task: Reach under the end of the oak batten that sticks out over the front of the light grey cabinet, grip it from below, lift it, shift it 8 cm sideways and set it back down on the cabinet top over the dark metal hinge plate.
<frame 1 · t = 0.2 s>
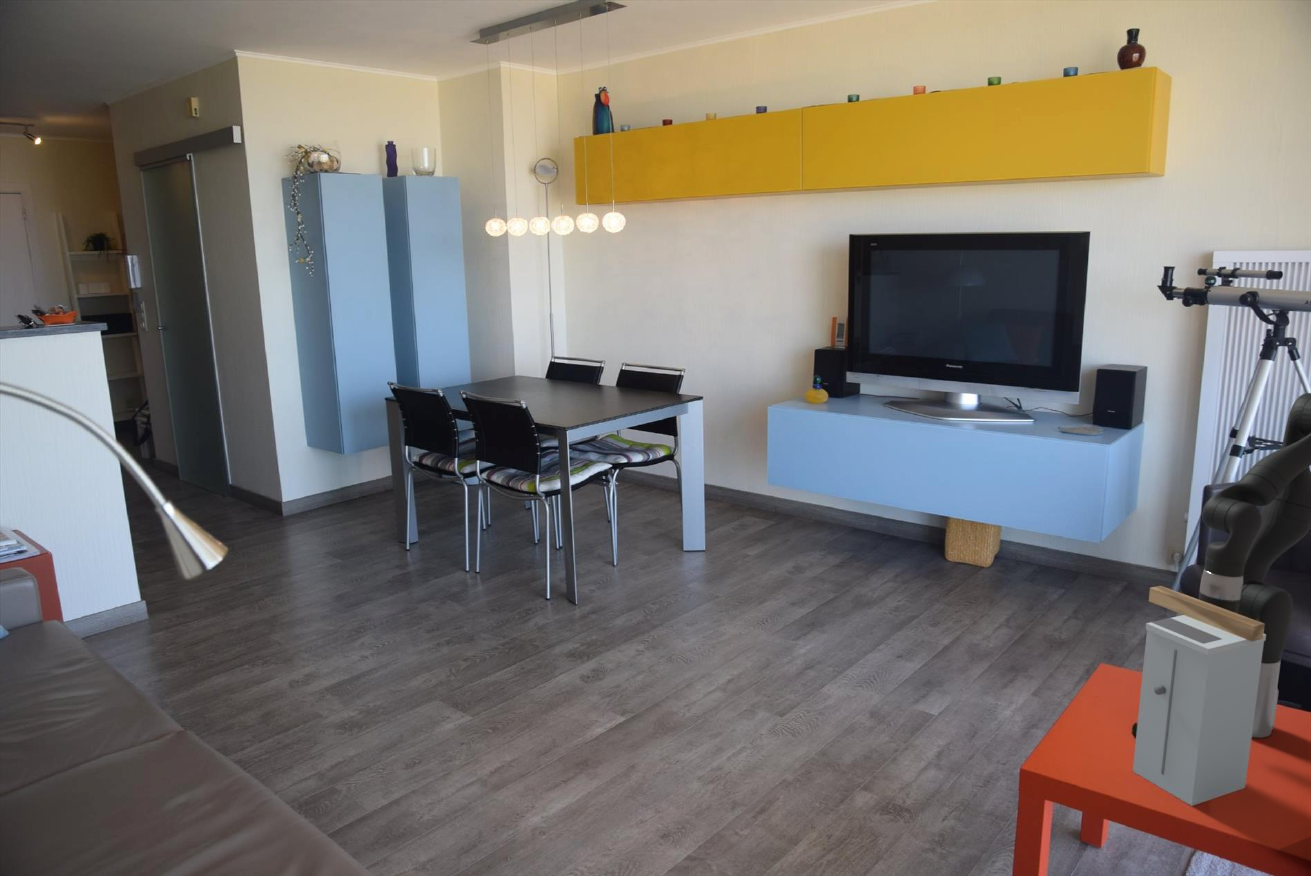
hand: (1210, 665, 193), 17 cm above the table, tool pointing down, fingers open, 8 cm apart
oak batten: (1202, 619, 180), point 32 cm above the table, touching light grey cabinet
light grey cabinet: (1187, 779, 182), on the table
hand tool: (1154, 725, 203), on the table
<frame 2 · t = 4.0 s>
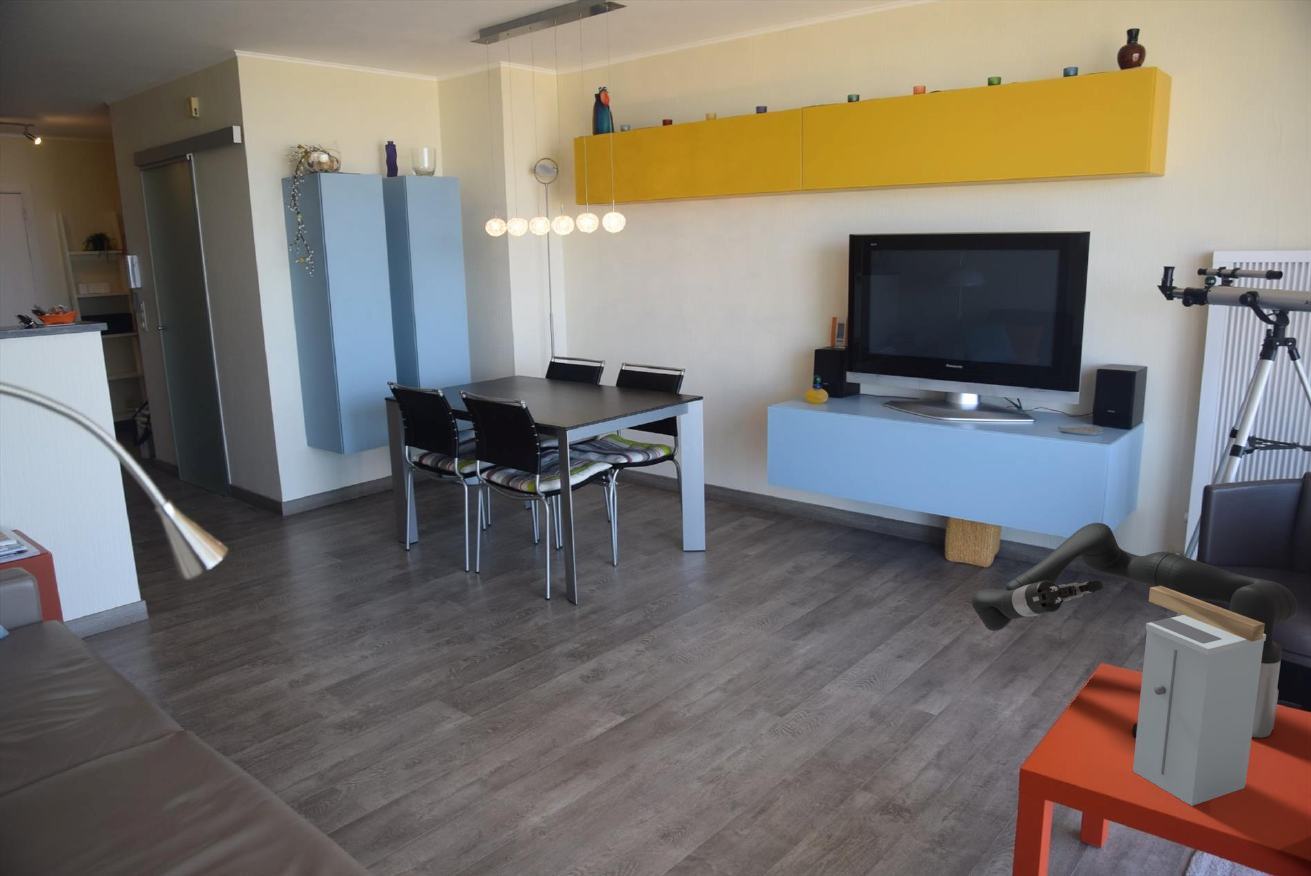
hand: (1087, 587, 206), 29 cm above the table, tool pointing upward, fingers open, 8 cm apart
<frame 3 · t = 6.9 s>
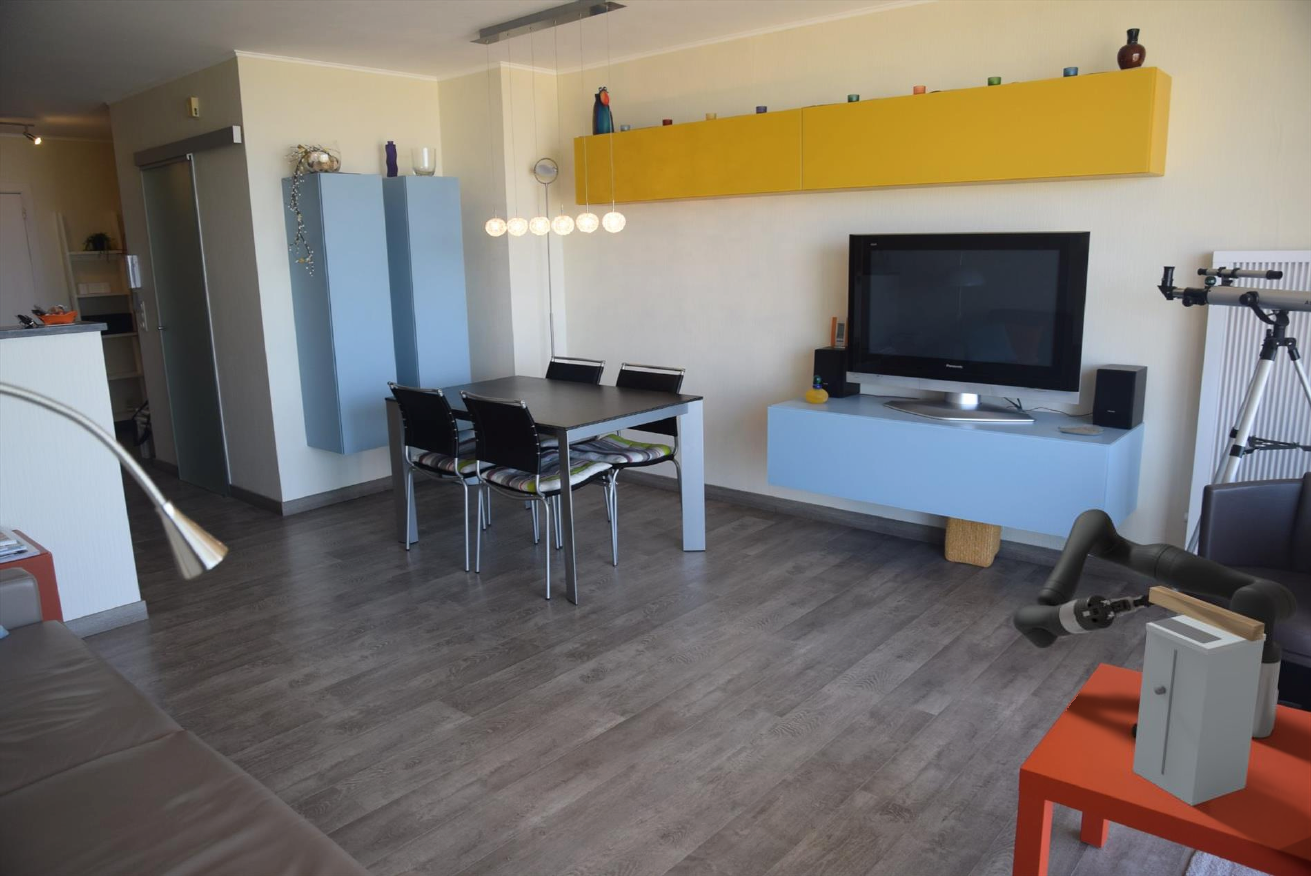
hand: (1142, 601, 192), 31 cm above the table, tool pointing upward, fingers open, 8 cm apart
nothing on the table moved.
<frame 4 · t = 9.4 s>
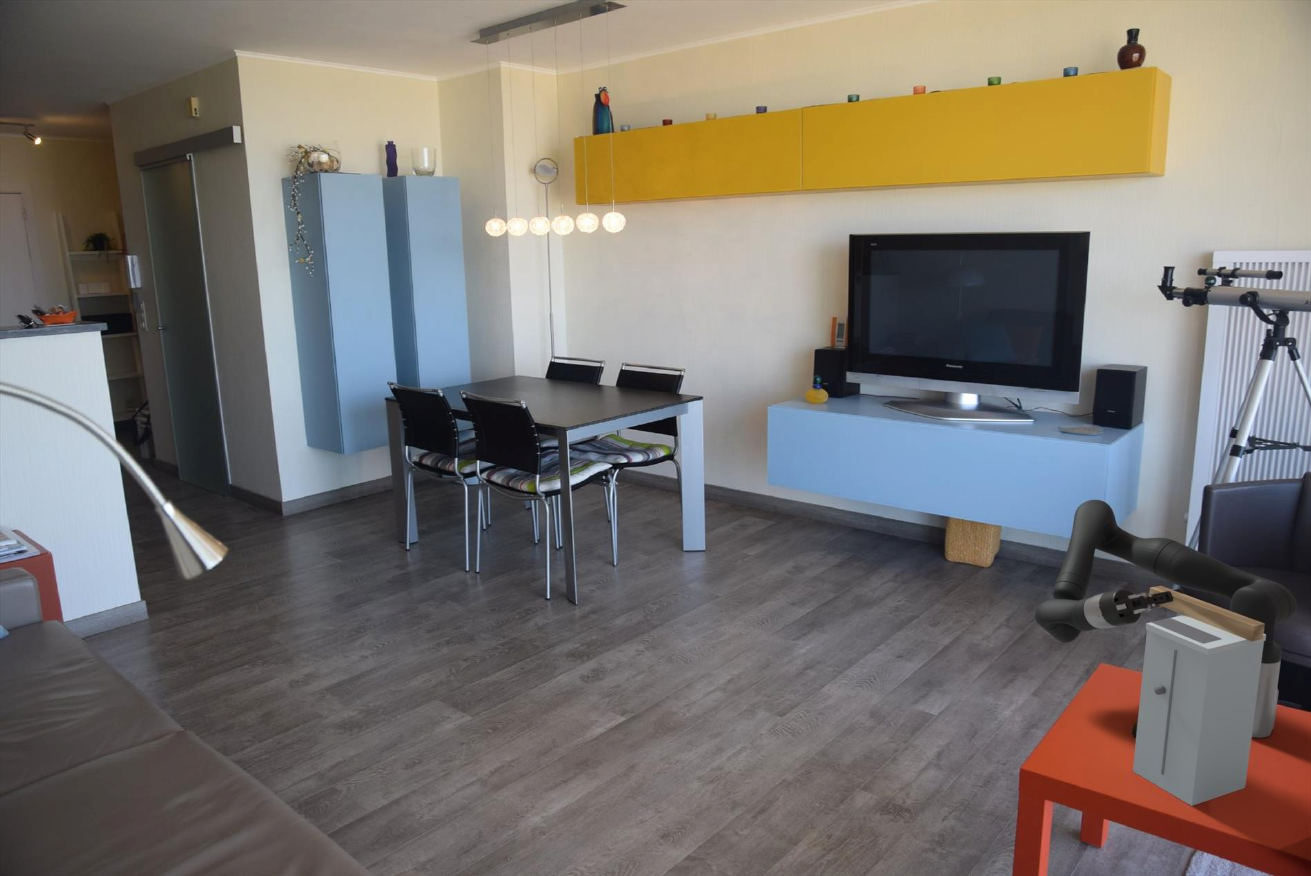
hand: (1176, 594, 185), 35 cm above the table, tool pointing upward, fingers closed on oak batten, 3 cm apart
oak batten: (1202, 619, 180), point 32 cm above the table, touching gripper, light grey cabinet
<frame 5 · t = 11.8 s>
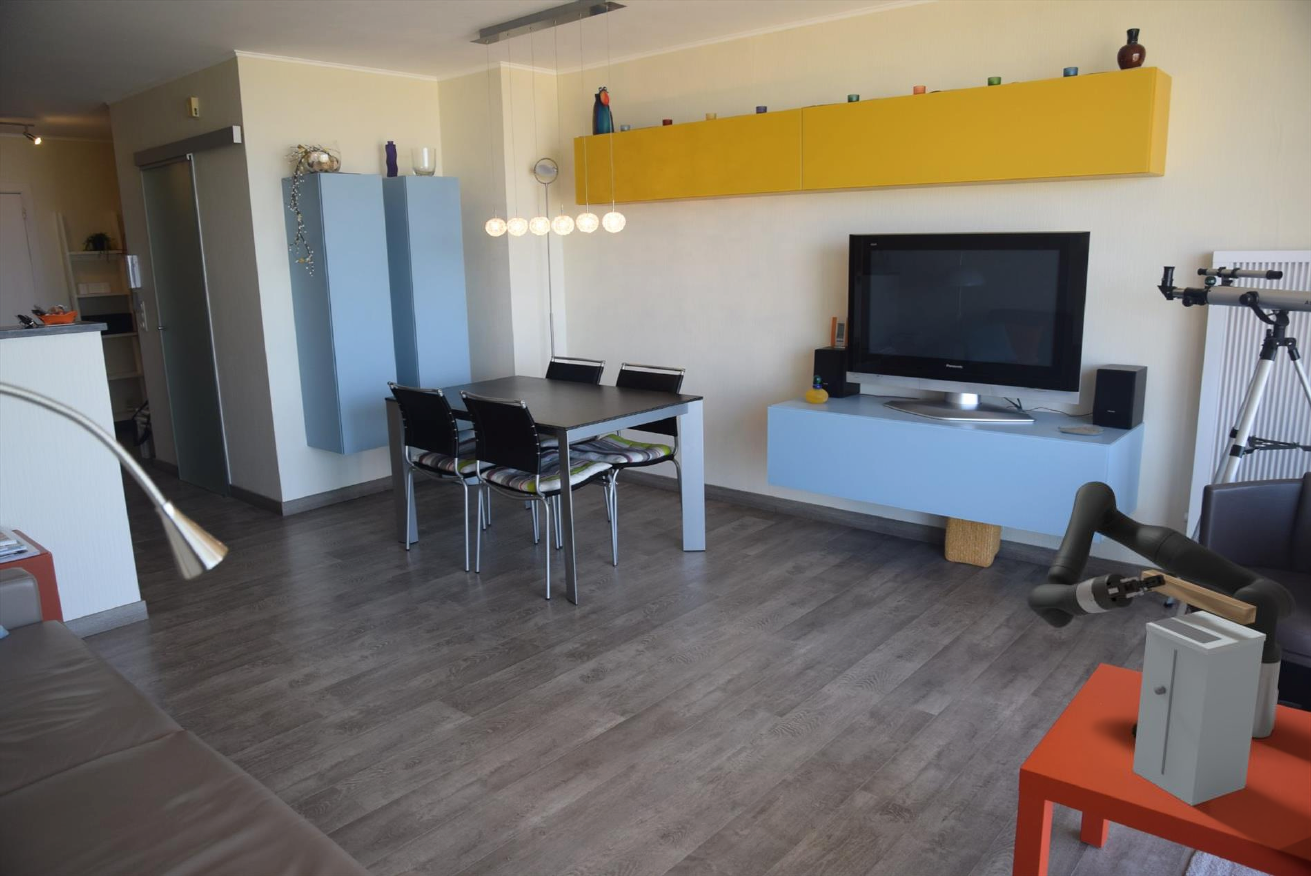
hand: (1168, 578, 184), 39 cm above the table, tool pointing upward, fingers closed on oak batten, 3 cm apart
oak batten: (1194, 602, 179), point 36 cm above the table, touching gripper
when the fingers open (36 cm above the table, at t = 14.3 s): oak batten stays where it is, resting on light grey cabinet.
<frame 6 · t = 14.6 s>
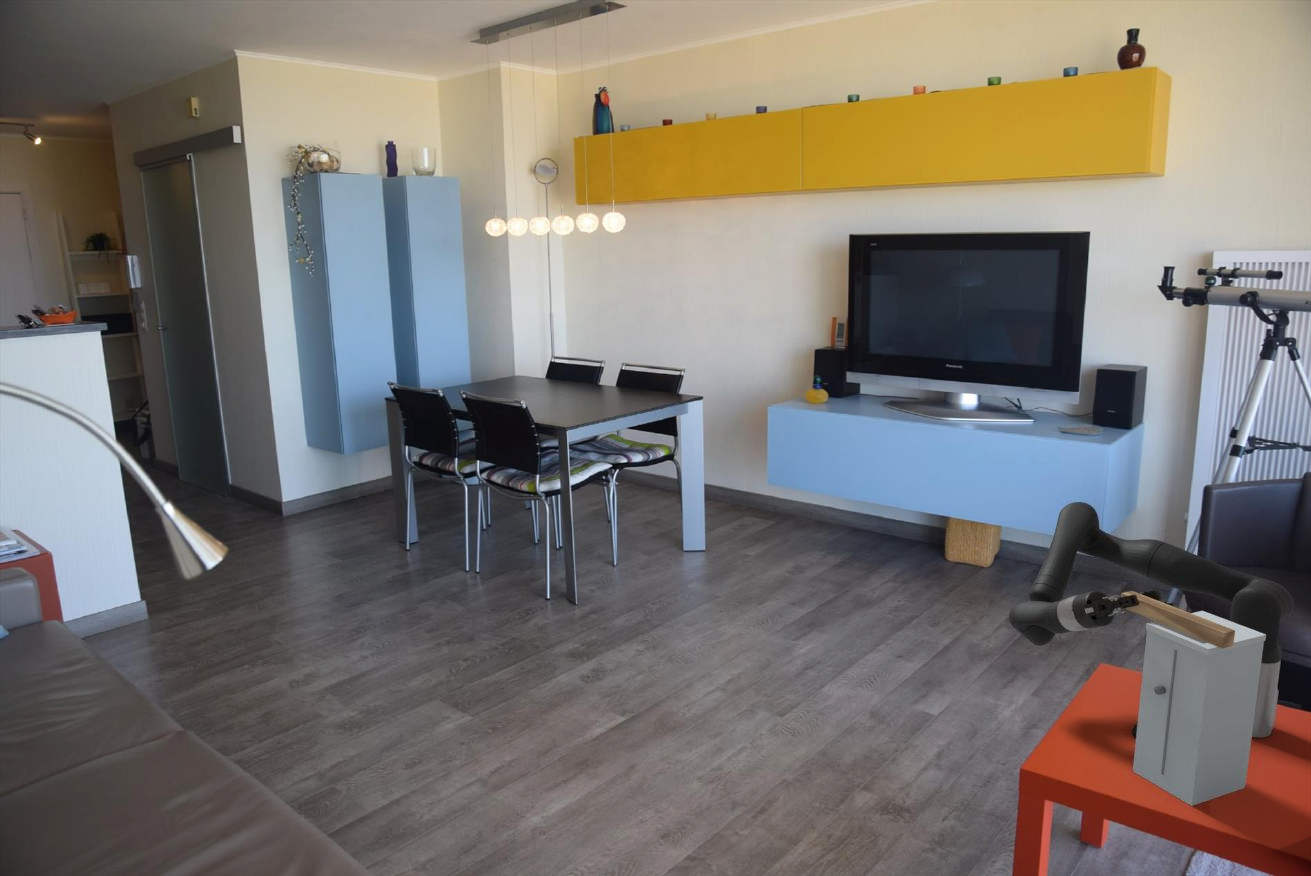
hand: (1147, 597, 182), 36 cm above the table, tool pointing upward, fingers open, 5 cm apart
oak batten: (1173, 625, 177), point 32 cm above the table, touching light grey cabinet
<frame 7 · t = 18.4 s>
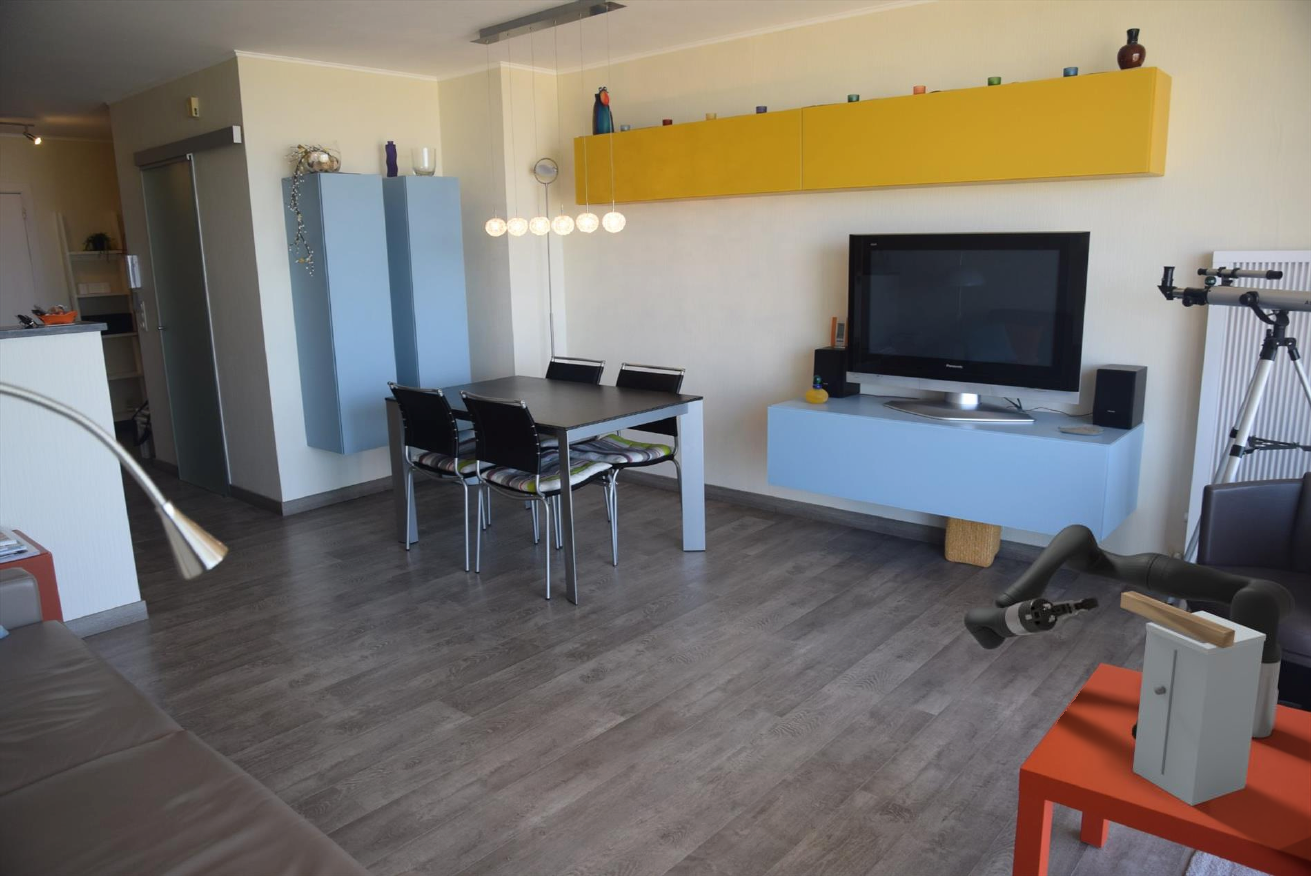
hand: (1081, 604, 197), 28 cm above the table, tool pointing upward, fingers open, 8 cm apart
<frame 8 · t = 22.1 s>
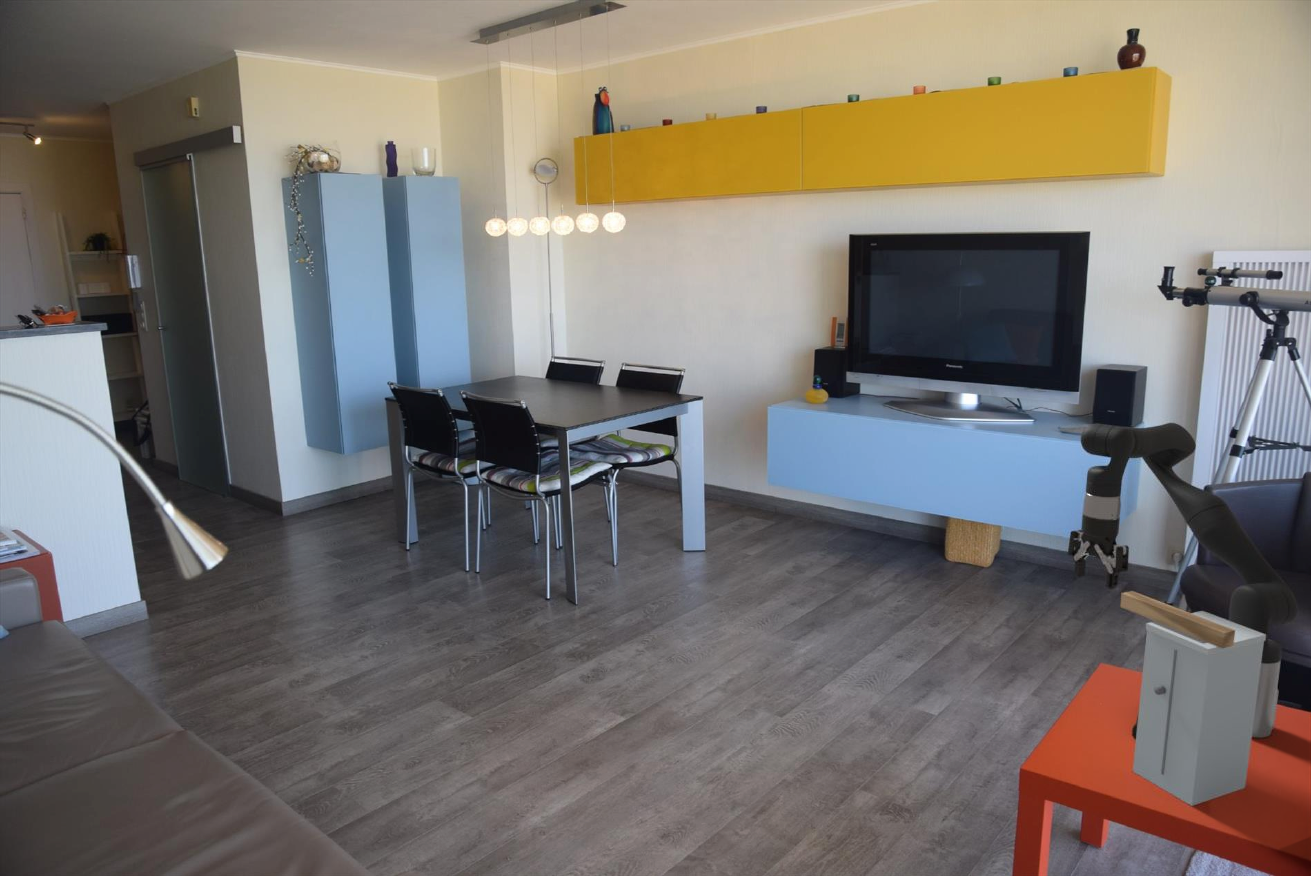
hand: (1095, 582, 206), 30 cm above the table, tool pointing down, fingers open, 8 cm apart
at the end: oak batten inside the target area (0.3 cm from its centre), point 32.0 cm above the table; the gripper is holding nothing; oak batten tilted 0° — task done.
